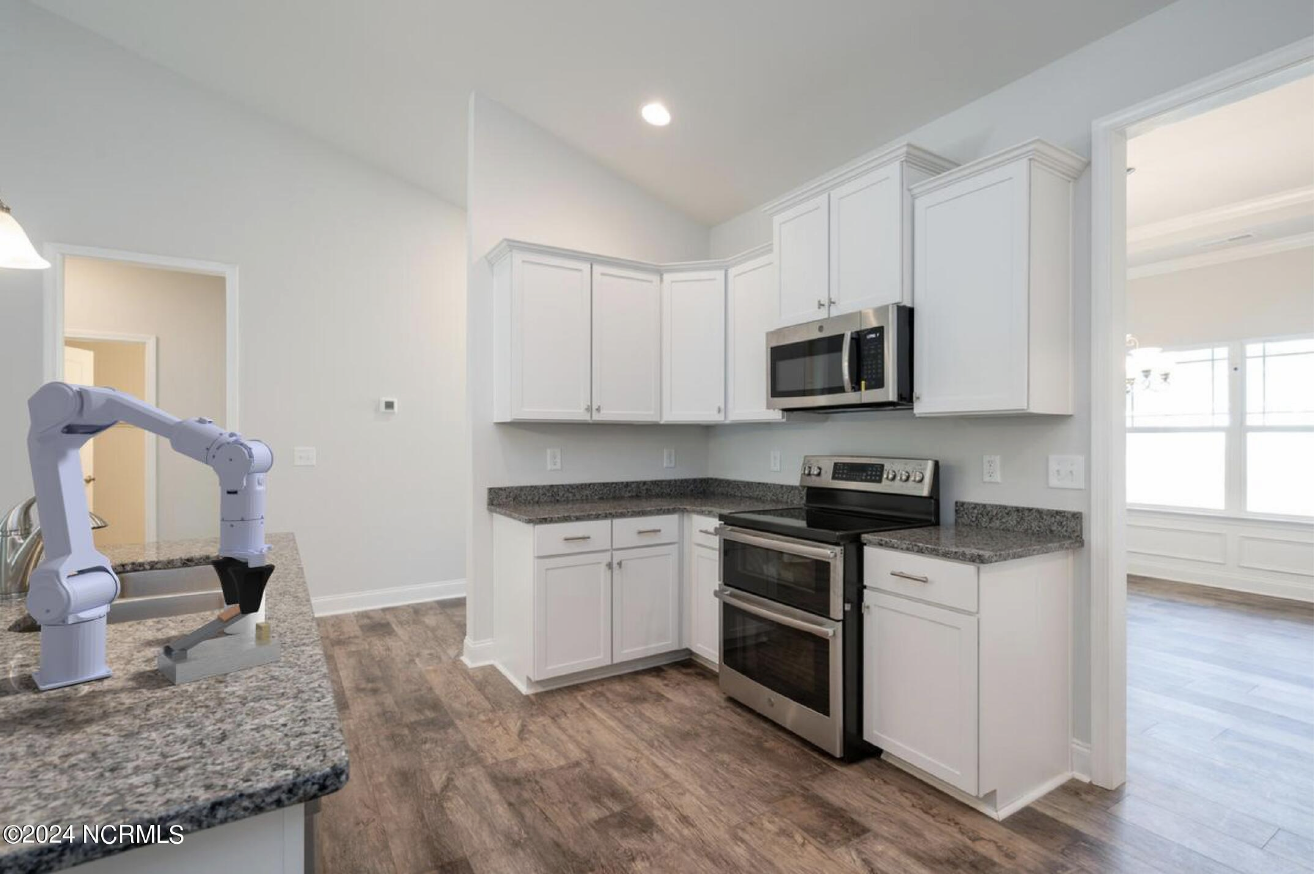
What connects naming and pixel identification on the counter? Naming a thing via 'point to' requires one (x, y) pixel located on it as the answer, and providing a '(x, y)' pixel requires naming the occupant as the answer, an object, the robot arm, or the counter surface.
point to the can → (246, 620)
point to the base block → (219, 655)
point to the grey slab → (209, 629)
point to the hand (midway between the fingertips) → (241, 608)
